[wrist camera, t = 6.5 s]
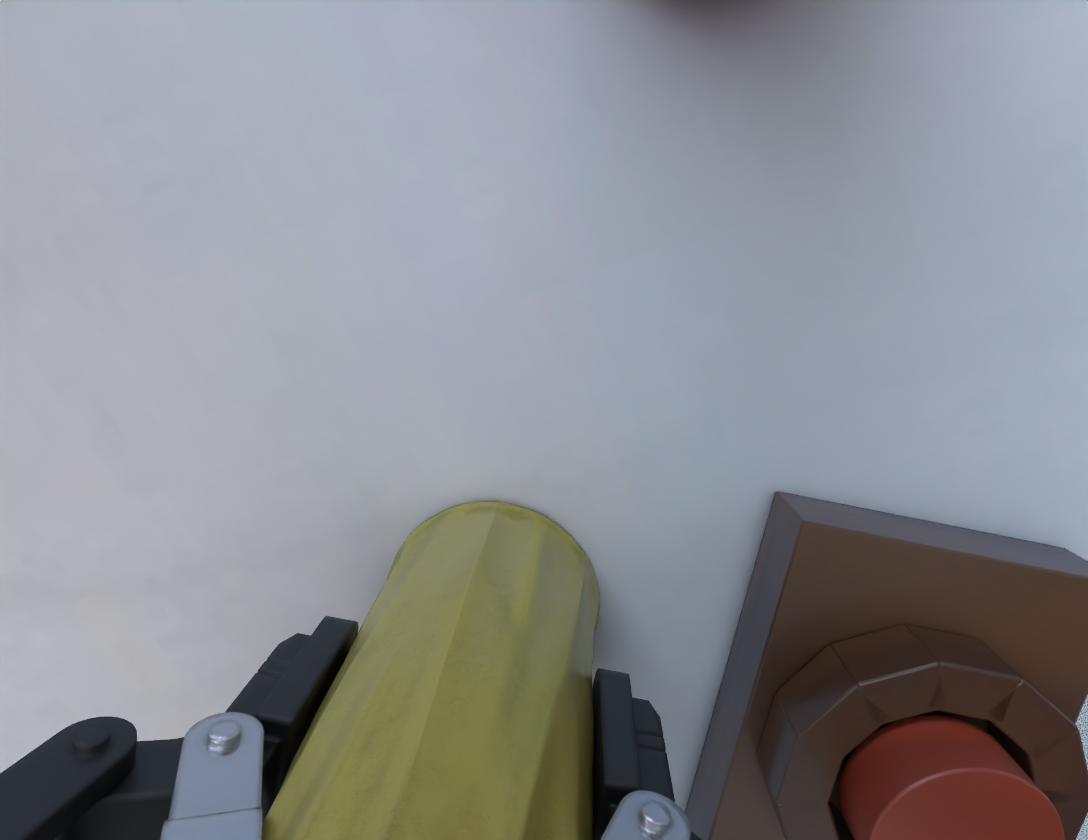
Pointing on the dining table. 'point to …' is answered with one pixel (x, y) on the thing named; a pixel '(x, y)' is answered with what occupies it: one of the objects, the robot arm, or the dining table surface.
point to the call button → (941, 786)
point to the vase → (459, 694)
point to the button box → (889, 663)
